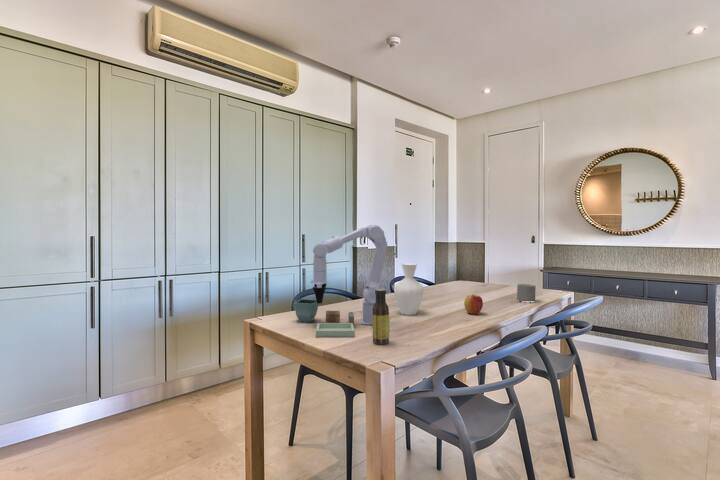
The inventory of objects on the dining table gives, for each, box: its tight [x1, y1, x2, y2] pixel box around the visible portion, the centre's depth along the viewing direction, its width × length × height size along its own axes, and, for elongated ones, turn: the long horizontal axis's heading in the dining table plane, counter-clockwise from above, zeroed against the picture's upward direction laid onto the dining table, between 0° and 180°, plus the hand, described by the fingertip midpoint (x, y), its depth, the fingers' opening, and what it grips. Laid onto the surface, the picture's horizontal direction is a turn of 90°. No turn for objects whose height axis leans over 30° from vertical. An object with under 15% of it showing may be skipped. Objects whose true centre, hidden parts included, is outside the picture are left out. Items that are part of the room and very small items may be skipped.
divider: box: [347, 311, 355, 327], centre depth 162 cm, size 2×8×5 cm, turn 4°
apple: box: [463, 294, 484, 315], centre depth 188 cm, size 9×9×10 cm
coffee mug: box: [516, 283, 536, 302], centre depth 223 cm, size 13×10×10 cm
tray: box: [315, 322, 355, 338], centre depth 151 cm, size 15×12×2 cm
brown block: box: [325, 310, 341, 323], centre depth 161 cm, size 6×6×6 cm
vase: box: [394, 262, 424, 316], centre depth 187 cm, size 14×14×25 cm
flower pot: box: [294, 298, 319, 323], centre depth 170 cm, size 9×9×9 cm
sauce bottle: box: [372, 288, 390, 345], centre depth 139 cm, size 6×6×20 cm
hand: (319, 301), depth 164 cm, fingers open, 7 cm apart
